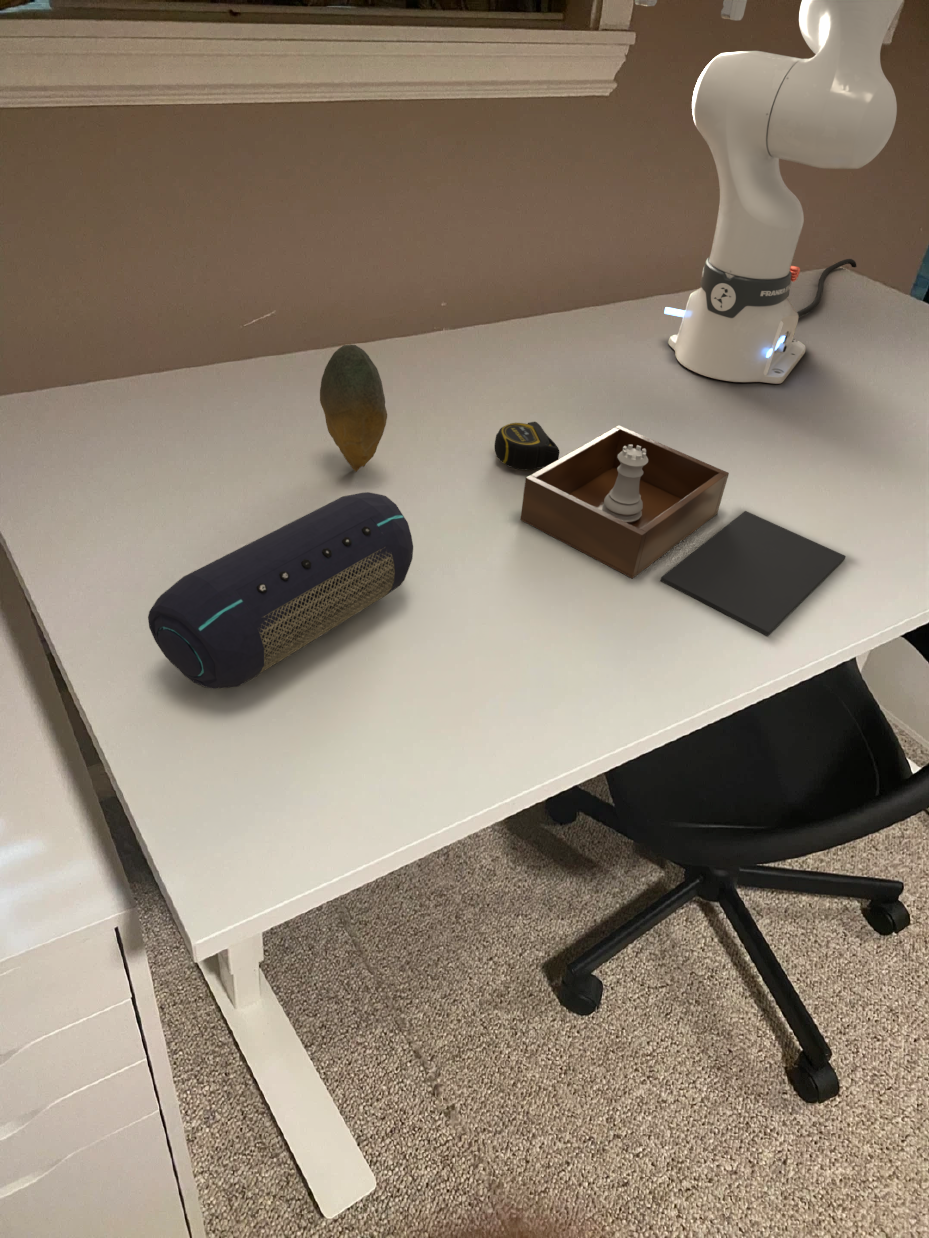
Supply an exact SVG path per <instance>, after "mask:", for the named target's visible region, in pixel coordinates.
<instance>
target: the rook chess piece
mask: <svg viewBox="0 0 929 1238" xmlns="http://www.w3.org/2000/svg"><path fill="white" fill-rule="evenodd" d="M618 459H619V461H620V463H621V464H620V466H619V467H618V468H617V471H618V477H617V479H616V482H615V485H614V487H613V489H612V490H611V491H610V493H609V494H608V495H607V496H606V497H605V499H604V504H603V506H602V511H604V512H606V513H608V514H610V515H612V516H614V517H616V518H618V519H620V520H622V521H624V522H626V523H628V524H629V523H633V522H635V521H637V520H638V519H639V518H640V517H641V516H642V511H641V510H642V509H643V502H642V500H641V495H640V494H639V483H640V478H641V476H642V475H643V470H642V467H643V466H644V465H646V464H647V463H648V458H647V456H646V450H645V448H644V449H642V451H641V446H638V445H637V446H636V449H634V448H633V445H632V444H631V445H628V448H627V447H626V446H624V447H623V450H622V452H620V453H619V454H618Z"/></svg>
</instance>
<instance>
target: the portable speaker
mask: <svg viewBox="0 0 929 1238" xmlns="http://www.w3.org/2000/svg"><path fill="white" fill-rule="evenodd" d="M413 556H414V543H413V536H412V532H411V529H410V525H409V522H408V521H407V519H406V518H405V516H404V515H403V512H402V511H401V509H400V508H399V507H398V505H397V504H396V503H395V502H394V501H393V500H391V499H390V498H389V497H388V496H386V495H383V494H380V493H375V492H369V491H367V492H366V491H365V492H359V493H354V494H350V495H344V496H341V497H338V498H337V499H335V500H332V501H331V502H329V503H327V504H324V505H322V506H321V507H319V508H317V509H315V510H312V511H311V512H309V513H307V514H305V515H304V516H301V517H299V518H297V519H295V520H293V521H291V522H289V523H287V524H285V525H283V526H281V527H280V528H277V529H275V530H273V531H271V532H269V533H268V534H265V535H263V536H261V537H259V538H257V539H255V540H254V541H251V542H249V543H247V544H246V545H244V546H242V547H240V548H237V549H235V550H233V551H232V552H229V553H228V554H226V555H224V556H222V557H220V558H217V559H216V560H214V561H212V562H210V563H208V564H205V565H204V566H202V567H199V568H198V569H195V570H194V571H192V572H189V573H188V574H186V575H183V576H182V577H181V578H179V580H177V581H176V582H175V583H173V585H171V586H170V587H169V588H168V589H167V590H165V591H164V592H163V593H162V594H160V595H159V597H157V599H156V601H155V602H154V603H153V605H152V607H151V608H150V610H149V611H148V615H147V620H148V628H149V630H150V633H151V636H152V638H153V640H154V642H155V644H156V645H157V646H158V648H159V649H160V651H161V652H162V654H163V656H164V657H165V658H166V659H167V660H168V661H169V662H170V663H171V664H172V665H173V666H174V667H175V668H176V669H177V670H178V671H179V672H180V673H181V674H182V675H183V676H185V677H186V678H187V679H188V680H190V681H191V682H193V683H194V684H196V685H199V686H202V687H204V688H207V689H212V690H213V689H226V688H235V687H239V686H241V685H243V684H245V683H246V682H248V681H251V680H252V679H254V678H255V677H257V676H258V675H260V674H262V673H263V672H264V671H266V670H268V669H269V668H271V667H273V666H275V665H276V664H278V663H279V662H281V661H282V660H284V659H286V658H287V657H289V656H291V655H292V654H293V653H295V652H297V651H298V650H300V649H302V648H303V647H305V646H307V645H308V644H310V643H311V642H313V641H314V640H316V639H318V638H319V637H321V636H323V635H324V634H326V633H328V632H329V631H330V630H332V629H334V628H336V627H337V626H338V625H340V624H342V623H344V622H345V621H347V620H349V619H350V618H352V617H353V616H355V615H357V614H358V613H360V612H361V611H363V610H364V609H366V608H368V607H370V606H371V605H373V604H374V603H376V602H378V601H379V600H380V599H382V598H385V597H386V596H387V595H389V594H390V593H392V592H393V591H394V590H396V589H398V588H399V587H401V585H402V584H403V583H404V581H405V579H406V577H407V575H408V572H409V569H410V566H411V564H412V561H413Z"/></svg>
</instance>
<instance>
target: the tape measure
mask: <svg viewBox="0 0 929 1238" xmlns="http://www.w3.org/2000/svg"><path fill="white" fill-rule="evenodd" d="M494 453H495V455H496V457H497V459H498V460H499V461H500V462H502V464H504V465H505V466H507V467H509V468H512V469H516V470H520V471H521V470H523V471H534V470H539V469H542V468H544V467H546V466H548V465H549V464H551V463H553V462H555V461H556V460H558V459H560V449H559V446H558V445H557V444H556V443H555V442H554V440H553V439H552V438H551V437H549V435H548V434H547V433H546V432H545V430H544V428H543V427H542V426H541V425H540V424H539V423H538V422H536V421H530V422H527V423H526V422H525V423H523V422H511V423H508V424H505V425H503V426H502V427H500V428H499V430H498V431H497V433H496V435H495V439H494Z"/></svg>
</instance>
